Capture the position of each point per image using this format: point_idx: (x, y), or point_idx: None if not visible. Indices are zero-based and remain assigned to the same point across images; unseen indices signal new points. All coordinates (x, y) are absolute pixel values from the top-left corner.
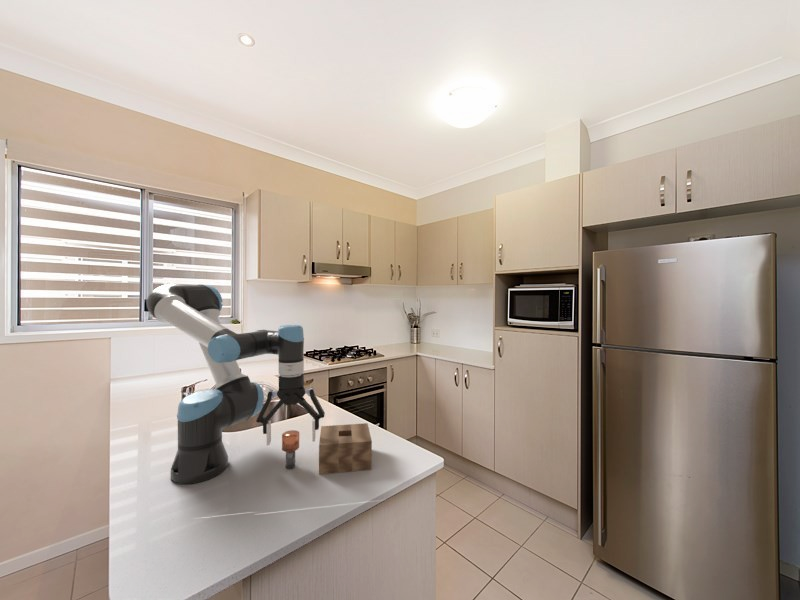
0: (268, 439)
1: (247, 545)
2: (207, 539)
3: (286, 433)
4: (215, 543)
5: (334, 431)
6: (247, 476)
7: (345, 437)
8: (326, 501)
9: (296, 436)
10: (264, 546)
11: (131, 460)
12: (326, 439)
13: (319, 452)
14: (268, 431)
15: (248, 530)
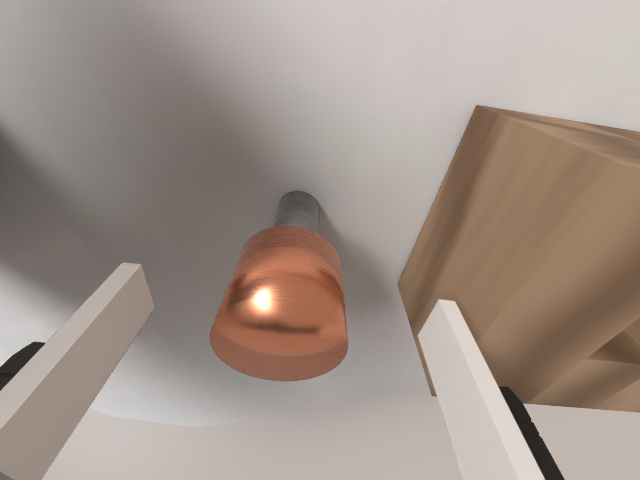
0: (127, 340)
1: (242, 402)
2: (167, 384)
3: (243, 336)
4: (187, 391)
5: (626, 300)
6: (133, 223)
7: (607, 374)
8: (384, 364)
9: (322, 368)
10: (269, 407)
11: None
12: (496, 367)
13: (422, 358)
14: (85, 405)
15: (233, 384)
